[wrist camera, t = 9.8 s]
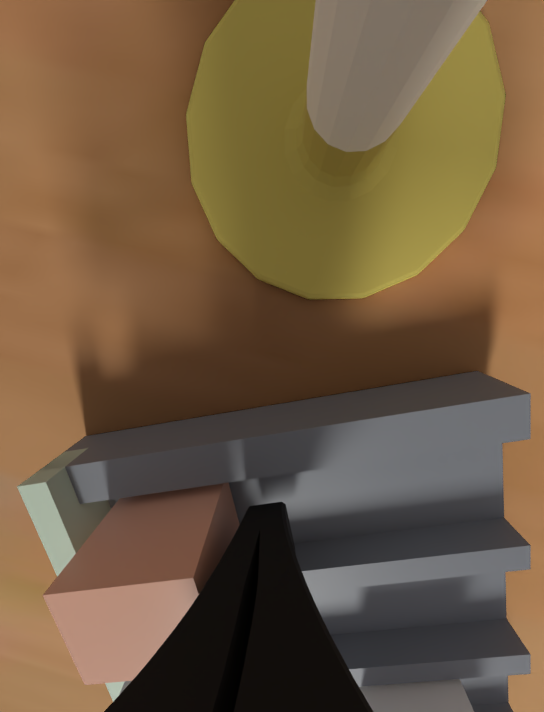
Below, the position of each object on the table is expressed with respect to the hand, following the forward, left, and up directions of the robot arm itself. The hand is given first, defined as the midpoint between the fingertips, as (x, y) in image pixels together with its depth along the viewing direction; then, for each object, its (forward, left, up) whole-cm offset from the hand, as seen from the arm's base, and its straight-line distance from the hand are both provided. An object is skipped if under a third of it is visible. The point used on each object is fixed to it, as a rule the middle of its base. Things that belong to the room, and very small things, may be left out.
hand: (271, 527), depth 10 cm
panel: (-1, +5, -2) cm, 6 cm away
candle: (-5, -12, -3) cm, 13 cm away
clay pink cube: (+4, 0, -1) cm, 4 cm away
